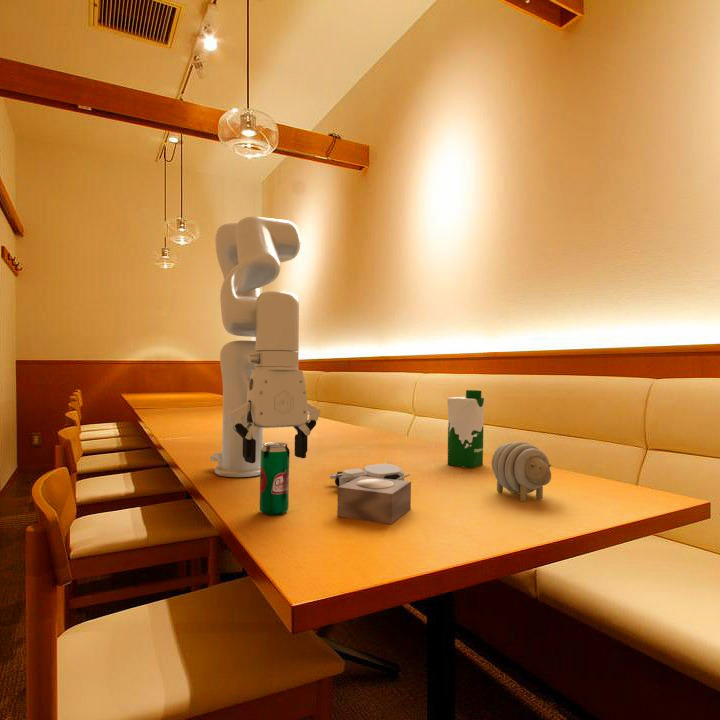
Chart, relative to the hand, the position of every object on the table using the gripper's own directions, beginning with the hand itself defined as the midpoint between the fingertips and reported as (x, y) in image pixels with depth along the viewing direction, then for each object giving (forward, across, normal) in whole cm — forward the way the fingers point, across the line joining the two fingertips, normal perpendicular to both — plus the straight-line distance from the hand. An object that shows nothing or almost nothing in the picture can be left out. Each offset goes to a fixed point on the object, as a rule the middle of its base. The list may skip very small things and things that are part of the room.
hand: (275, 459), depth 88 cm
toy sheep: (+10, +48, -15) cm, 51 cm away
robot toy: (+10, +25, +6) cm, 27 cm away
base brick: (+10, +15, -9) cm, 20 cm away
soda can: (+10, 0, +1) cm, 10 cm away
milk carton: (+9, +62, +14) cm, 65 cm away
